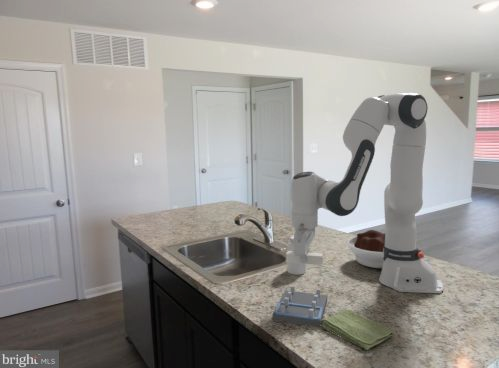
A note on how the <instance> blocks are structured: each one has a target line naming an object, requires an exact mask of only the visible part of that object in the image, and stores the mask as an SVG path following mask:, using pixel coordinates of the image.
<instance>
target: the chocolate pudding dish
mask: <svg viewBox="0 0 499 368" xmlns="http://www.w3.org/2000/svg"><path fill="white" fill-rule="evenodd" d="M346 243H347V244H346V245H347V248H348V250H349V251H350V252H351V253H352V254H353V257H354V259H355V261H356V262H357V263H359V264H360V265H362V266H365V267H369V268H373V269H374V268H375V269H382V267H383V261H384V260H383V247H384V245H385V232H384V233H383V232H380V231H378V230H375V229H369V230H366V231H364V232H361V233H357V234H356V236H354V237H352V238H349V239H348V240H347V242H346Z"/></svg>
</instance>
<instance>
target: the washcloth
mask: <svg viewBox="0 0 499 368" xmlns="http://www.w3.org/2000/svg"><path fill="white" fill-rule="evenodd" d="M321 327H322V328H323V327H324V328H323V329H325V330H327V331H329V332H330V331H331V333H332V332H333V333H335V334H334V335H336V334H337V335H339V336H341V337H343V338H342V339H344V338H345V339H344V340H346V341H348V342H350V343H352V342H353V343H352V344H354V345H355V344H356V345H357V346H358V345H359V347H360V348H361V347H362V348H361V349H363V348H364V349H363V350H365V351H369V350H370V349H372V348H373V347H375V346H377V345H378V344H381V343H382V342H384V341H386V340H387V339H389V338H390V337H392V336H393V335H394V332H393V331H392V330H391V329H390V328H388V327H387V326H385V325H384V324H382V323H379V322H378V321H376V320H372V319H371V318H370V319H369V318H367V317H365V316H363V315H361V314H360V313H358V312H355V311H352V310H351V309H343V310H340V311H339V312H336V313H335V315H330V316H327V317H325V318H323V320H322V321H321ZM333 333H332V334H333ZM337 335H336V336H337ZM339 336H338V337H339ZM341 337H340V338H341Z"/></svg>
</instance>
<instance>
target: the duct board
mask: <svg viewBox="0 0 499 368" xmlns="http://www.w3.org/2000/svg"><path fill="white" fill-rule="evenodd" d="M315 290H316V293H310V292H303V291H296V285H295V284H294V285H292V284H291V285H290V290H286V289H285V290H284V291H283V294H282V295H281V298H279V302H278V303H277V304H276V306H275V309H274V310H273V313H272V320H273V321H278V322H285V323H286V322H287V323H292V324H298V325H305V326H311V325H312V326H313V327H318V326H319V328H320V327H322V325H321V321H322V319H324V316H325V313H326V307H327V303H328V294H327V295H326V294H322V293H321V288H319V287H317V288H316V289H315ZM323 315H324V316H323Z"/></svg>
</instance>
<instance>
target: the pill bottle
mask: <svg viewBox="0 0 499 368" xmlns="http://www.w3.org/2000/svg"><path fill="white" fill-rule="evenodd" d="M288 251H294V235H292V236H290V237H289V243H287V246H286V253H287V252H288ZM286 270H287V273H288V274H290V275H295V276H298V275H299V276H300V275H304V274H305V273H306V271H307V264H302V263H290V262H286Z"/></svg>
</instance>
